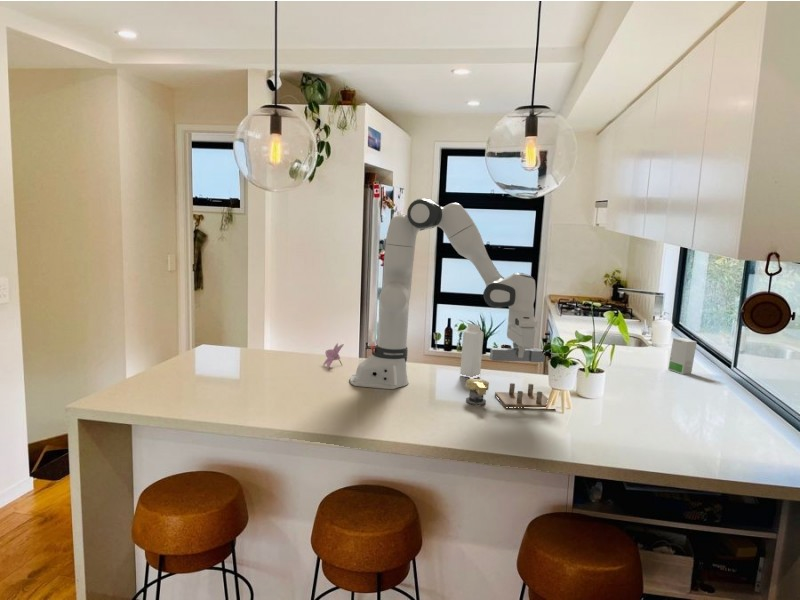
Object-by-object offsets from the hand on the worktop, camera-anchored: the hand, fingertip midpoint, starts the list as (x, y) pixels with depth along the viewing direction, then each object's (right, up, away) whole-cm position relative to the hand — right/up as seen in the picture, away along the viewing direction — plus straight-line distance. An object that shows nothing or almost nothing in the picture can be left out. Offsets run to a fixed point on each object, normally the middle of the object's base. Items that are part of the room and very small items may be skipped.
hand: (518, 355), depth 206 cm
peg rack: (+2, -17, -2) cm, 17 cm away
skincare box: (+88, -14, +60) cm, 108 cm away
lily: (-71, -8, +32) cm, 78 cm away
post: (-16, -16, -5) cm, 23 cm away
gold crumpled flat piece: (-16, -11, -8) cm, 21 cm away
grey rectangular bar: (0, -2, 0) cm, 2 cm away
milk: (-14, -12, +28) cm, 33 cm away
